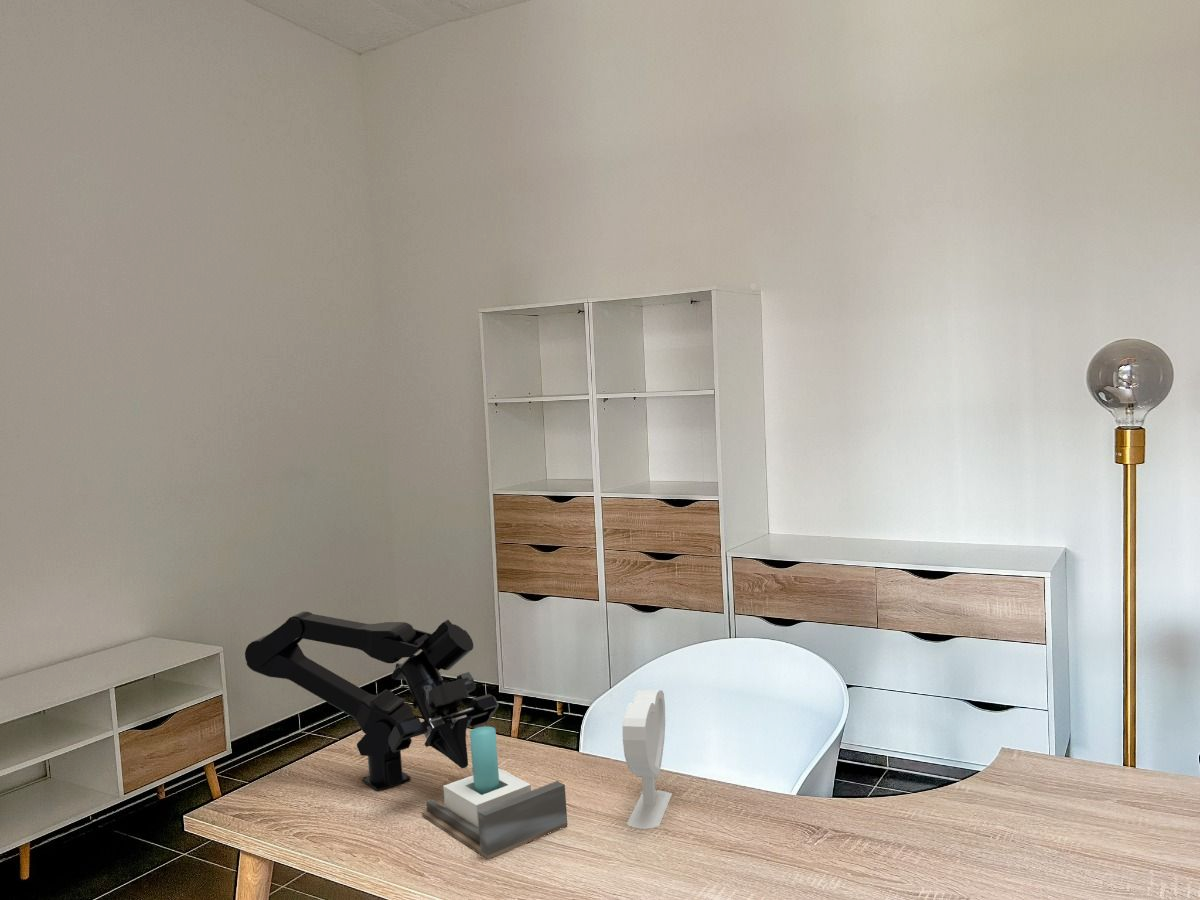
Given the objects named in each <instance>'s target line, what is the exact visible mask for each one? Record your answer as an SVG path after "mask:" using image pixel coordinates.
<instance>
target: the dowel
mask: <svg viewBox="0 0 1200 900" xmlns="http://www.w3.org/2000/svg"><path fill="white" fill-rule="evenodd" d="M469 734H470V735H469V738H470V749H471V763H472V764H471V765H472V776H473V780H474V791H475V792H477V793H479V794H481V795H483V794H486V793H489V792H491V791H494V790H497V789H499V788H500V786H499V772H498V768H499V761H498V746H497V735H496V734H497V733H496V727H493V726H477V727H474V728H472V729H471V730H470V732H469Z"/></svg>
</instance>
